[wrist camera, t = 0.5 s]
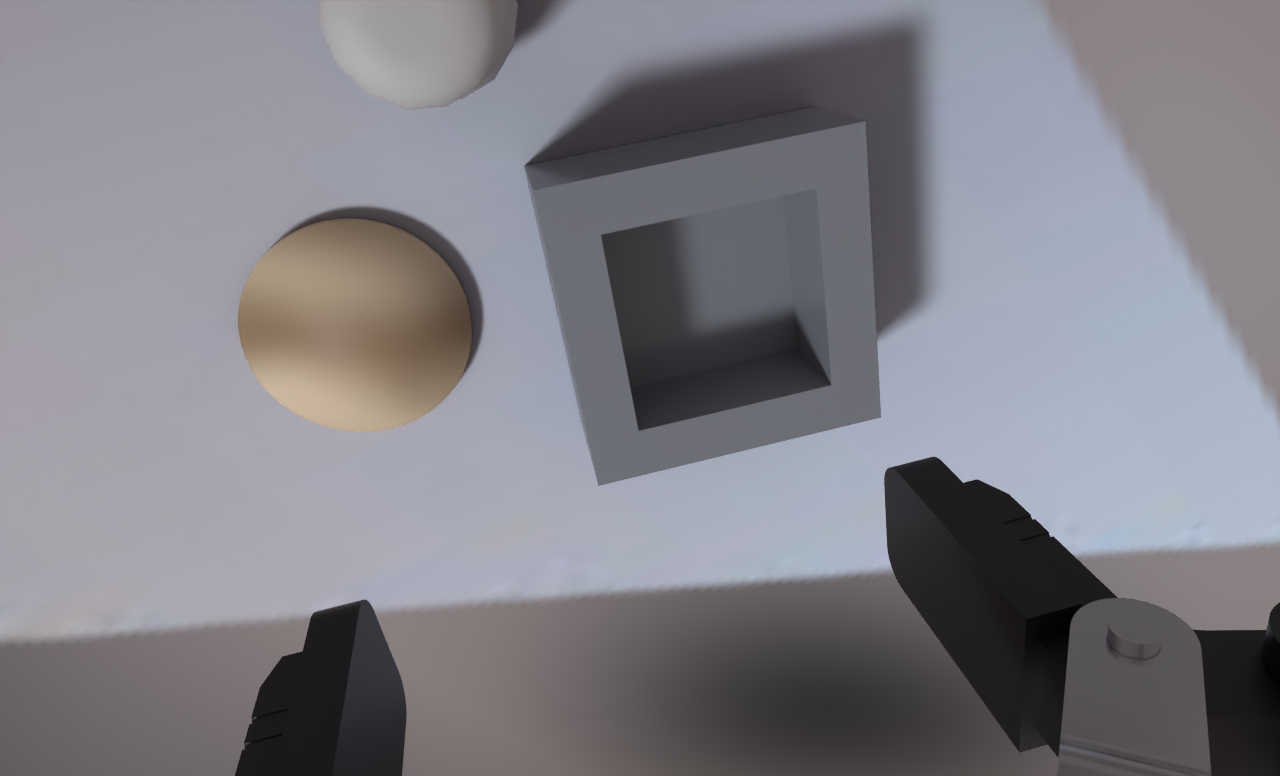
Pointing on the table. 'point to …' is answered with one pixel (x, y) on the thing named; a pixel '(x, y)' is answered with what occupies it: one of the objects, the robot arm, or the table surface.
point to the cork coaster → (355, 325)
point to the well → (714, 287)
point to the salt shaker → (419, 46)
